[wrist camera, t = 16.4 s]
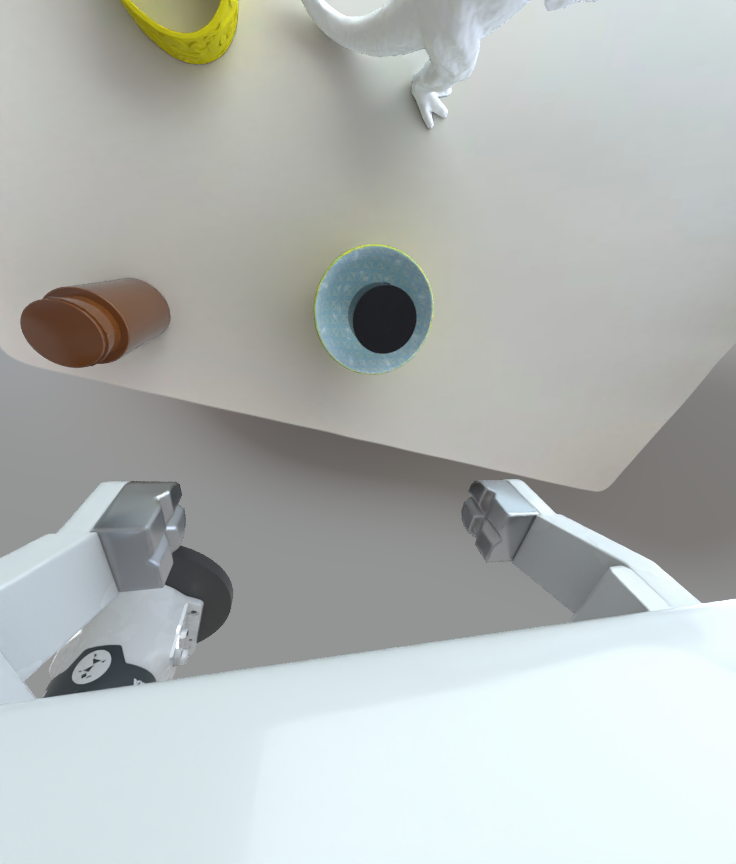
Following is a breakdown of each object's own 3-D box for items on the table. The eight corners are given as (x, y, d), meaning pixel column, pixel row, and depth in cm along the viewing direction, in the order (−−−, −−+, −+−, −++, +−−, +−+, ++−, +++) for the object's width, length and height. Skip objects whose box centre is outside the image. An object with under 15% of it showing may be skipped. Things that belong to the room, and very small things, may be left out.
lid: (352, 276, 27) (357, 278, 24) (412, 286, 28) (423, 289, 26) (344, 343, 29) (348, 350, 27) (400, 348, 31) (409, 356, 28)
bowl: (392, 224, 31) (412, 218, 26) (425, 331, 37) (447, 344, 32) (290, 276, 31) (289, 280, 26) (340, 373, 37) (347, 393, 32)
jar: (174, 340, 32) (120, 377, 22) (112, 334, 31) (27, 371, 21) (165, 282, 30) (101, 296, 20) (99, 273, 28) (-6, 284, 18)
